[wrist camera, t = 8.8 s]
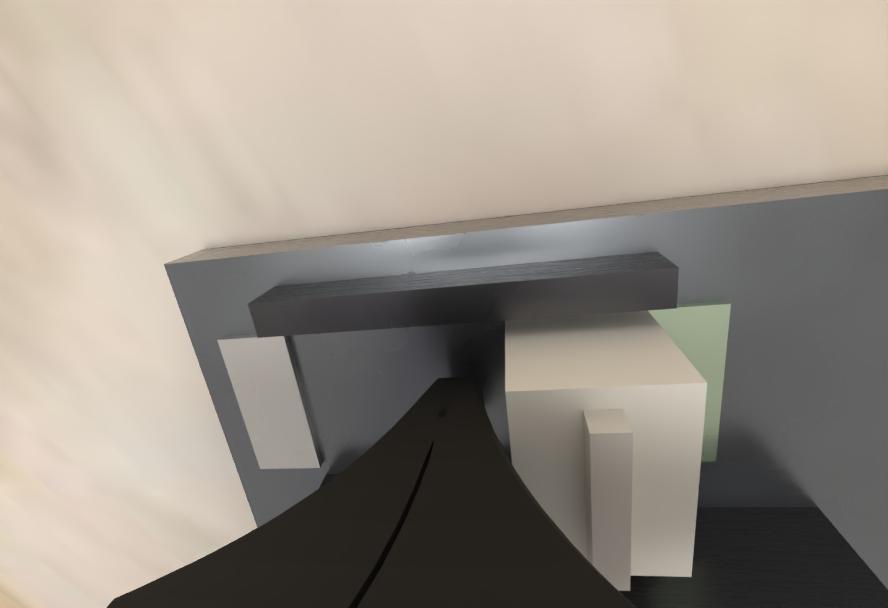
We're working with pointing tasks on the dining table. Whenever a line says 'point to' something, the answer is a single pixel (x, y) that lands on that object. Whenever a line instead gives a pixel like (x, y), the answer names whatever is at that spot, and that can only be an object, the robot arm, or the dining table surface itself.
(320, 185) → the dining table surface
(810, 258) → the panel
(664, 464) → the sliding toggle
